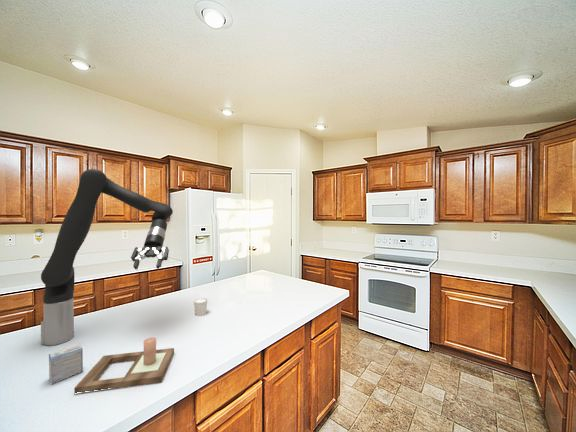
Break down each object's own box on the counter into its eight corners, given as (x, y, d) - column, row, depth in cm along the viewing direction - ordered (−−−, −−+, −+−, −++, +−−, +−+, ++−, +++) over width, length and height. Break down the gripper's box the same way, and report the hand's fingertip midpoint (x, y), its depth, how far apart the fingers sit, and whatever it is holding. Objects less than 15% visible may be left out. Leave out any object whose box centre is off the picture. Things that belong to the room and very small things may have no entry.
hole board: (74, 394, 71) (74, 386, 71) (103, 361, 87) (103, 354, 87) (161, 382, 76) (161, 375, 76) (174, 353, 92) (174, 347, 92)
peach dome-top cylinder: (141, 365, 81) (141, 343, 81) (146, 358, 84) (146, 337, 85) (153, 364, 81) (153, 342, 81) (157, 358, 85) (158, 337, 85)
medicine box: (80, 366, 84) (80, 342, 83) (83, 372, 81) (83, 347, 80) (48, 379, 77) (48, 353, 77) (50, 385, 75) (50, 358, 74)
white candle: (193, 317, 123) (193, 303, 123) (194, 311, 129) (194, 298, 129) (206, 315, 125) (206, 302, 125) (207, 310, 131) (207, 297, 131)
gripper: (136, 233, 108) (125, 264, 97) (170, 233, 111) (162, 262, 100) (141, 243, 113) (130, 273, 103) (173, 242, 117) (166, 271, 106)
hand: (146, 268), depth 101 cm, fingers open, 8 cm apart
